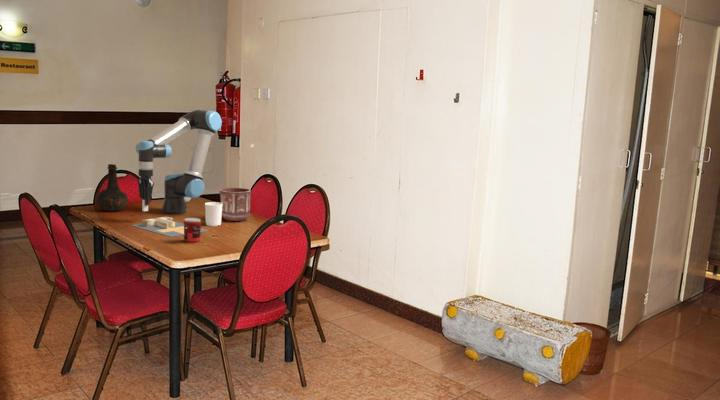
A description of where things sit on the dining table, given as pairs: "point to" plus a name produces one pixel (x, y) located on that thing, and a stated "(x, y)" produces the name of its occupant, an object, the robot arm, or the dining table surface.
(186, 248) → the dining table surface
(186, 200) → the teacup
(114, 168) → the dark mottled flask
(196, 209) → the dining table surface
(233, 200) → the pottery
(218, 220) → the candle holder
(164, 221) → the t block
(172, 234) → the push mat
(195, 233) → the canned food
